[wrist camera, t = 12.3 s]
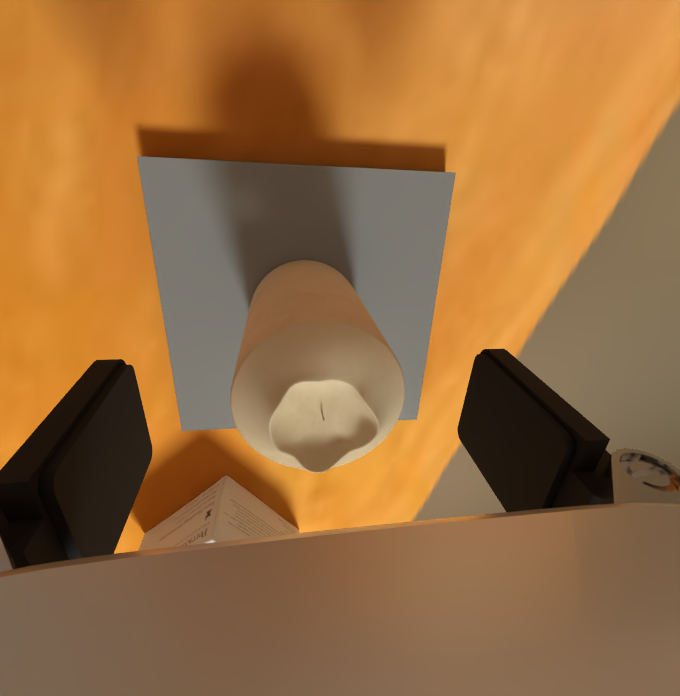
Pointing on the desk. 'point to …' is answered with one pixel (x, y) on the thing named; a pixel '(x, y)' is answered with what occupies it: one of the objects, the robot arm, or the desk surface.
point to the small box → (218, 519)
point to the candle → (313, 371)
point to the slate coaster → (287, 258)
